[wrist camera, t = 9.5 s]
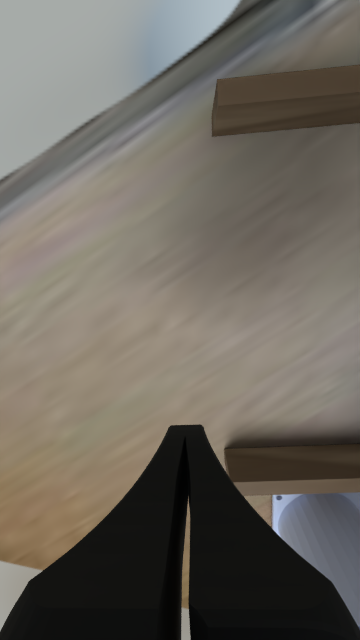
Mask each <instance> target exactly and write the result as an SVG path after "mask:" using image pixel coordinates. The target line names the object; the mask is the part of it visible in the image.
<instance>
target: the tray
mask: <svg viewBox="0 0 360 640" xmlns="http://www.w3.org/2000/svg"><path fill="white" fill-rule="evenodd" d="M352 123H360V65H353V66H343V67H333V68H324V69H314V70H304V71H294V72H285V73H275V74H265V75H256V76H246V77H236V78H227V79H217V84H216V91H215V97H214V103H213V110H212V137H213V136H224V135H234V134H245V133H256V132H266V131H277V130H288V129H299V128H309V127H320V126H331V125H342V124H352ZM224 455H225V465H226V471H227V475H228V476H229V478H230V479H231V480H232V482H233V483H234V485H235V486H236V487H237V489H238V490H239V491H240V493H241V494H242V495H243V496H256V495H289V494H323V493H356V492H360V444H341V445H314V446H288V447H262V448H236V449H224Z"/></svg>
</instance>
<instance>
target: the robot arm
mask: <svg viewBox="0 0 360 640" xmlns="http://www.w3.org/2000/svg"><path fill="white" fill-rule="evenodd" d="M188 496H189V507H190V569H189V618H190V635H191V640H360V492H356V493H323V494H289V495H280V496H279V495H272V528H271V527H270V526H269V525H268V524H267V523H266V522H265V521H264V519H263V518H262V517H261V516H260V515H259V514H258V513H257V512H256V511H255V510H254V509H253V507H252V506H251V505H250V504H249V503H248V501H247V500H246V499H245V498H244V496H243V495H242V494H241V493H240V491H239V490H238V489H237V487H236V486H235V485H234V483H233V482H232V480H231V479H230V478H229V476H228V475H227V473H226V471H225V470H224V468H223V467H222V465H221V464H220V462H219V460H218V458H217V457H216V455H215V453H214V451H213V449H212V447H211V445H210V443H209V441H208V439H207V437H206V434H205V431H204V427H203V426H202V425H171V426H170V427H169V428H168V431H167V433H166V435H165V437H164V439H163V441H162V443H161V445H160V446H159V448H158V450H157V452H156V453H155V455H154V457H153V458H152V460H151V461H150V463H149V464H148V466H147V467H146V469H145V470H144V472H143V473H142V474H141V476H140V477H139V479H138V480H137V481H136V483H135V484H134V485H133V487H132V488H131V489H130V490H129V492H128V493H127V494H126V495H125V496H124V498H123V499H122V500H121V501H120V502H119V503H118V504H117V505H116V506H115V508H114V509H113V510H112V511H111V512H110V513H109V514H108V515H107V516H106V517H105V518H104V519H103V520H102V521H101V522H100V523H99V524H98V525H97V526H96V527H95V528H94V529H93V530H92V531H90V532H89V533H88V534H87V535H86V536H85V537H84V538H83V539H82V540H81V541H80V542H78V543H77V544H76V545H75V546H74V547H73V548H72V549H70V550H69V551H68V552H67V553H65V554H64V555H63V556H62V557H60V558H59V559H58V560H56V561H55V562H54V563H53V564H51V565H50V566H49V567H47V568H46V569H45V570H43V571H42V572H41V573H40V574H38V575H37V576H35V577H34V578H33V579H31V580H30V581H29V582H28V584H27V586H26V587H25V589H24V591H23V592H22V594H21V596H20V597H19V599H18V601H17V602H16V603H15V605H14V607H13V609H12V610H11V612H10V614H9V616H8V618H7V619H6V621H5V623H4V625H3V627H2V629H1V631H0V640H181V601H182V564H183V551H184V539H185V528H186V516H187V504H188Z"/></svg>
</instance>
